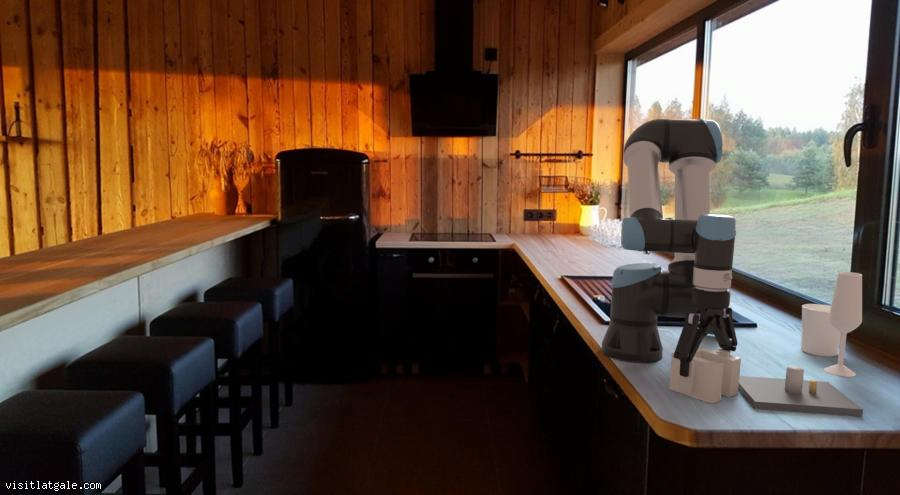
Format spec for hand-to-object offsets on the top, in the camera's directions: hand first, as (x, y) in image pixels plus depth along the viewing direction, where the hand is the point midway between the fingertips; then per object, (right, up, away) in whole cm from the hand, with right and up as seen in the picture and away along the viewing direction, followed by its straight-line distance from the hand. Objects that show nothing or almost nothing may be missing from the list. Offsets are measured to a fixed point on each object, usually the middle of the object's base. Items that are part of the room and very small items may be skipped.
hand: (703, 384), depth 135 cm
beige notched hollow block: (0, -2, 0) cm, 2 cm away
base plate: (+18, -2, -3) cm, 18 cm away
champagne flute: (+39, -1, +15) cm, 42 cm away
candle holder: (+43, +2, +32) cm, 54 cm away
